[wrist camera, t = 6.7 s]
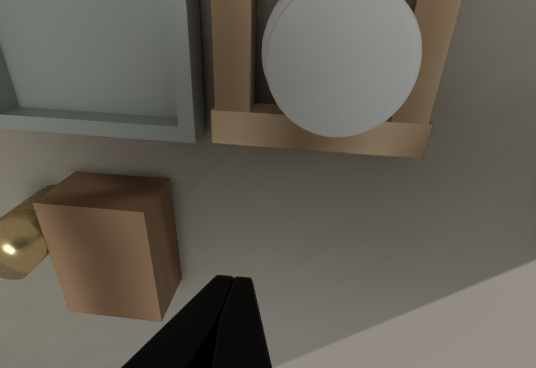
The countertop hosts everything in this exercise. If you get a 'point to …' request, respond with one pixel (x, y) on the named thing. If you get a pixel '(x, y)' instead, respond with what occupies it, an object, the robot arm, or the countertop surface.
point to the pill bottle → (341, 62)
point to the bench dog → (22, 239)
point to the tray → (103, 68)
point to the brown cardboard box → (112, 243)
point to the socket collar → (287, 132)
